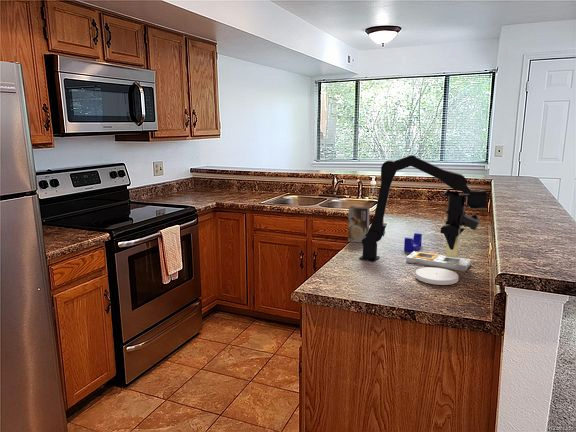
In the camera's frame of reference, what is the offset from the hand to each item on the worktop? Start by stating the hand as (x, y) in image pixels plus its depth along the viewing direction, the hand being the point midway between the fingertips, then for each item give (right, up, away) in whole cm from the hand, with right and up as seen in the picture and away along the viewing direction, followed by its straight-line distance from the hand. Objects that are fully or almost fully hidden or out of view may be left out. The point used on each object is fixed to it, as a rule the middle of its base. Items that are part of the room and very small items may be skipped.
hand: (452, 248), depth 164 cm
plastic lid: (-11, -10, -15) cm, 21 cm away
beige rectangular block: (0, -3, +1) cm, 3 cm away
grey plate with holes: (-4, -6, +4) cm, 8 cm away
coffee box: (-30, 0, +39) cm, 49 cm away
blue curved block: (-8, -3, +24) cm, 26 cm away
